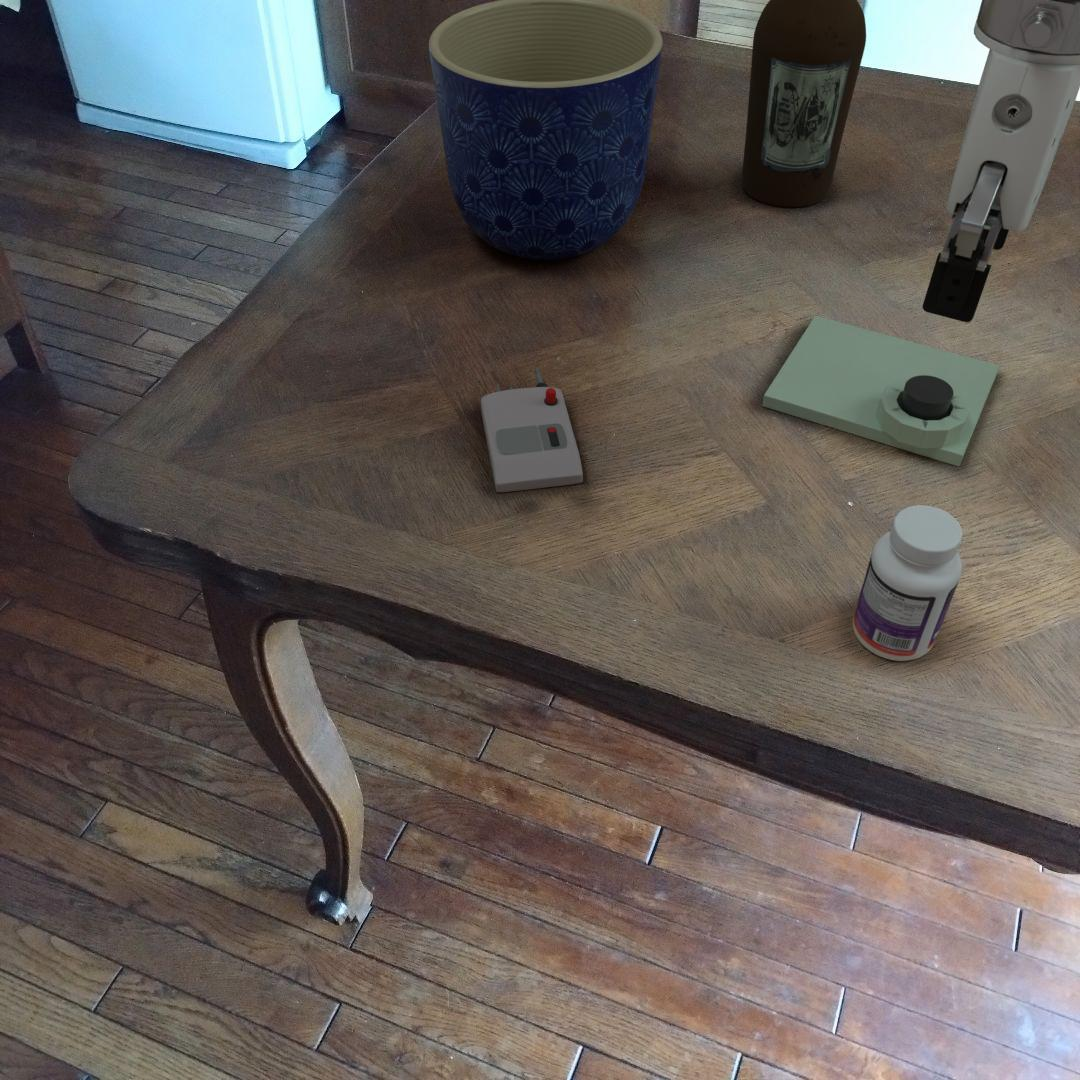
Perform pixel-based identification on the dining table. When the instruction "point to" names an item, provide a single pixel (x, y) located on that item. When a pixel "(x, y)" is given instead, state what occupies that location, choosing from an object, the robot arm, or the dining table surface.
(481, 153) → the planter
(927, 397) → the tare button
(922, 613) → the pill bottle
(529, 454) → the remote control
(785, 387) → the green dial board
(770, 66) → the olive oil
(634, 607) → the dining table surface
